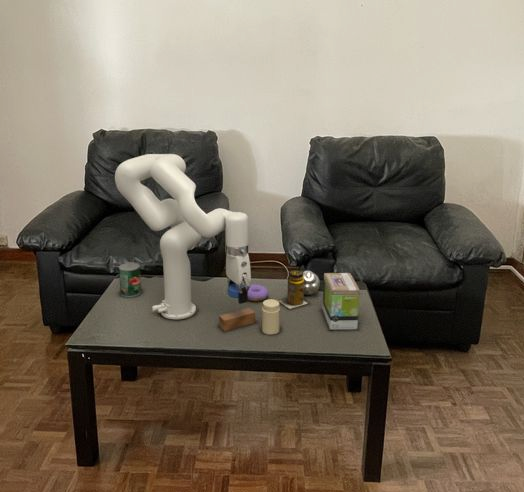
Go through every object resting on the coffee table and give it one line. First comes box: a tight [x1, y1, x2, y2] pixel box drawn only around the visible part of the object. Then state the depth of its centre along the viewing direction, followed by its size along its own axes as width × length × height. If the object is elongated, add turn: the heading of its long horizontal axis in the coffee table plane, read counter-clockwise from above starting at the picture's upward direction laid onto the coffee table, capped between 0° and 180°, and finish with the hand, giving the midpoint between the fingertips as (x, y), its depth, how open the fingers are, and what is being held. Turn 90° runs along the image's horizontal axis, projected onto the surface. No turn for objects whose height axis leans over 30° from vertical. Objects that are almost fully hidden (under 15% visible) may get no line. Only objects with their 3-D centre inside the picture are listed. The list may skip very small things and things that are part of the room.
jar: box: [261, 298, 281, 335], centre depth 185 cm, size 6×6×10 cm
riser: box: [218, 307, 256, 332], centre depth 189 cm, size 12×4×4 cm, turn 121°
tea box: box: [321, 272, 361, 331], centre depth 192 cm, size 15×10×15 cm, turn 4°
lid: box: [226, 284, 245, 299], centre depth 187 cm, size 7×7×2 cm
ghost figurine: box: [302, 270, 321, 296], centre depth 212 cm, size 9×10×10 cm
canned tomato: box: [118, 261, 142, 298], centre depth 213 cm, size 8×8×11 cm
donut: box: [248, 284, 269, 302], centre depth 210 cm, size 10×9×5 cm
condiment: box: [278, 269, 308, 310], centre depth 205 cm, size 7×8×12 cm
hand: (237, 298), depth 188 cm, fingers closed on lid, 6 cm apart
